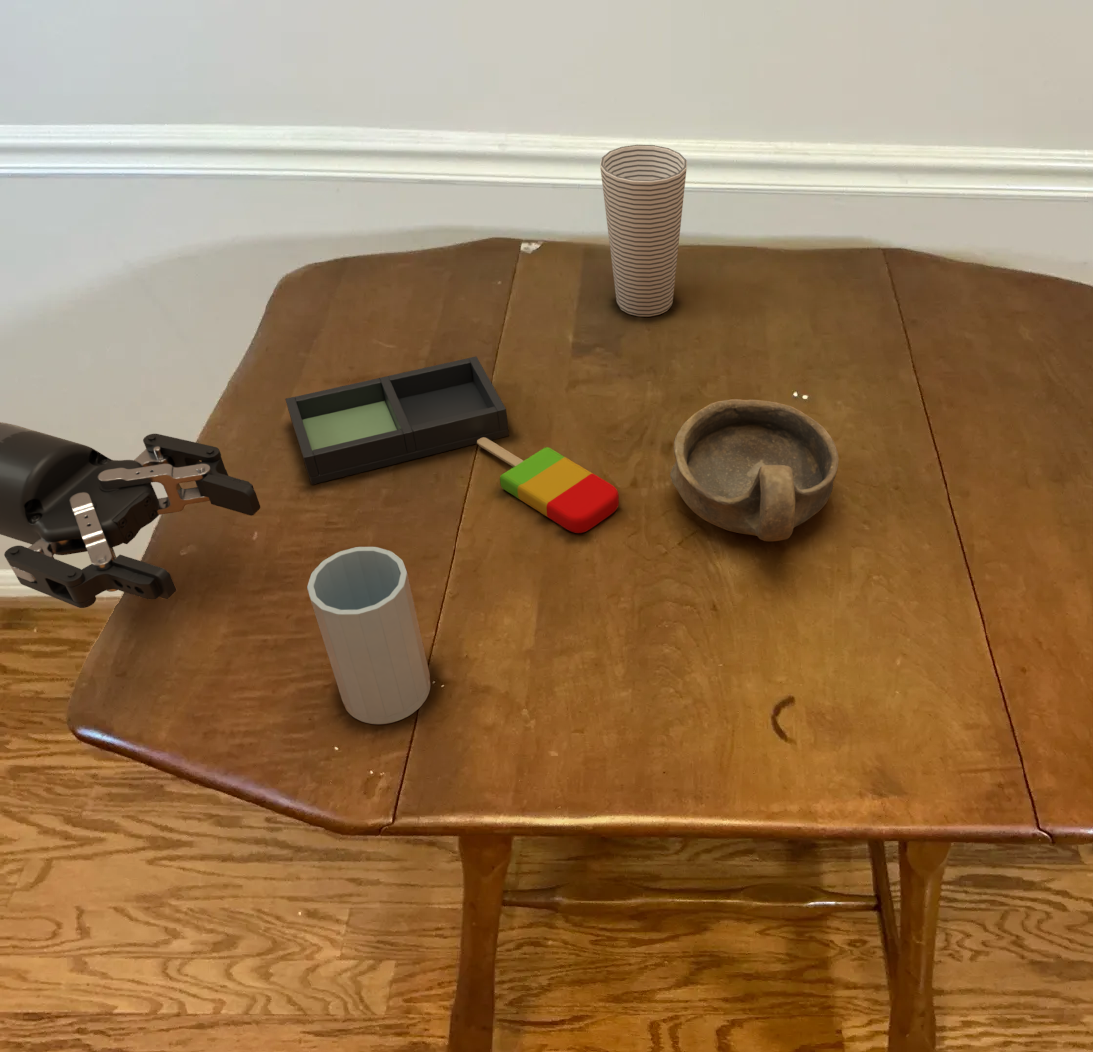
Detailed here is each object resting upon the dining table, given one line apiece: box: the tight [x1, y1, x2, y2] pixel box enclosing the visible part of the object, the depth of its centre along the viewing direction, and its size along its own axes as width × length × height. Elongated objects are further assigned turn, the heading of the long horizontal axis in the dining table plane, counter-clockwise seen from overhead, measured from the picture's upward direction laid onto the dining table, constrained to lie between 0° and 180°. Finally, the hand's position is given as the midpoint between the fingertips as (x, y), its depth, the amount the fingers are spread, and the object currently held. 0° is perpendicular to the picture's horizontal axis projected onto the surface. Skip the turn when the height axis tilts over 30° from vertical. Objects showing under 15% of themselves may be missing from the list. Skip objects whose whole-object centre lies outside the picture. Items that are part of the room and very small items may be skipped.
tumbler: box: [306, 546, 431, 725], centre depth 71 cm, size 6×6×11 cm
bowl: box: [669, 398, 840, 542], centre depth 86 cm, size 14×18×10 cm
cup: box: [599, 144, 688, 317], centre depth 109 cm, size 8×8×16 cm
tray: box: [285, 355, 510, 485], centre depth 96 cm, size 17×9×3 cm, turn 115°
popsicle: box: [476, 437, 620, 534], centre depth 91 cm, size 6×15×2 cm, turn 50°
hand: (214, 541), depth 71 cm, fingers open, 8 cm apart
